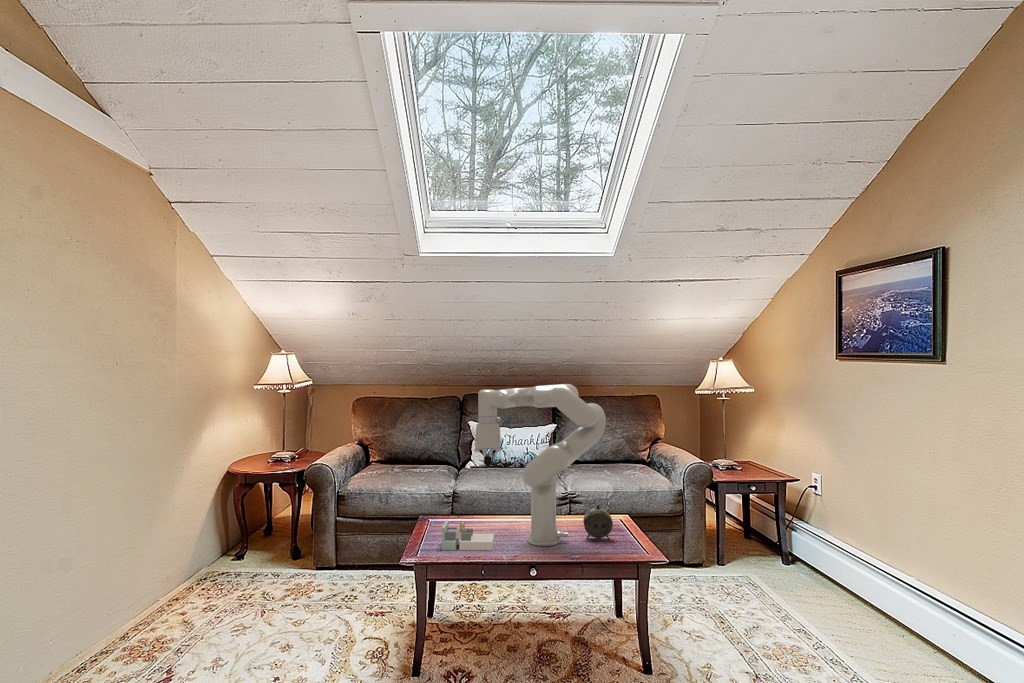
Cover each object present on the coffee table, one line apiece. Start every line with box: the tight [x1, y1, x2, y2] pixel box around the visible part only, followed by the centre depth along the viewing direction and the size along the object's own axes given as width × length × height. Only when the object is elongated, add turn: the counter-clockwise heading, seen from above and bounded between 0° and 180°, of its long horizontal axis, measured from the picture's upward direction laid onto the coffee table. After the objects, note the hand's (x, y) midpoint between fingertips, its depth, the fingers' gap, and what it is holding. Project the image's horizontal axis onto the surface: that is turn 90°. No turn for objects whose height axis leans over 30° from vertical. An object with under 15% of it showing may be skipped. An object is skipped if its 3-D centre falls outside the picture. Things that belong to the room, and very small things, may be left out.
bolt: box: [447, 521, 467, 540], centre depth 210 cm, size 7×4×6 cm, turn 88°
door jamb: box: [441, 520, 460, 551], centre depth 210 cm, size 5×10×8 cm, turn 178°
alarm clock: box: [583, 497, 614, 542], centre depth 216 cm, size 11×5×16 cm, turn 87°
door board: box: [458, 527, 495, 551], centre depth 209 cm, size 12×10×6 cm
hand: (487, 466), depth 224 cm, fingers closed
